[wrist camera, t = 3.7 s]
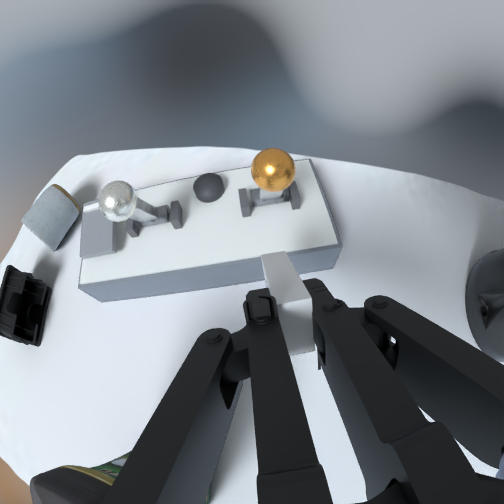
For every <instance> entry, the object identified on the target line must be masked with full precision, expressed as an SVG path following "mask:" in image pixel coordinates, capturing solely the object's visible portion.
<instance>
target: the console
mask: <svg viewBox="0 0 504 504" xmlns="http://www.w3.org/2000/svg"><path fill="white" fill-rule="evenodd" d="M294 163H295V167H296V174H295V178H294V180H293V182H292V183H291V185H290V186H289V187H287V188H288V193H289V202H285V203H278V204H271V205H265V206H258V207H252V203H251V197H250V190H249V189H255V188H258V185H257V184H256V183H255V182H254V180H253V178H252V175H251V167H245V168H238V169H233V170H227V171H221V172H216V173H207V174H203V175H200V176H195V177H190V178H185V179H180V180H176V181H171V182H167V183H163V184H158V185H154V186H150V187H146V188H142V189H138V190H135V191H136V194H137V197H138V198H140V199H142V200H143V201H145V202H147V203H149V204H151V205H152V206H154V207H158V206H163V205H168V206H169V208H170V222H168V223H163V224H158V225H153V226H148V227H143V228H139V229H138V228H136V226H135V224H134V219H131V218H128V219H126V220H124V221H120V222H117V253H113V254H108V255H103V256H98V257H93V258H88V259H83V258H82V262H81V269H80V276H79V285H78V288H79V289H80V290H82V291H83V292H85V293H87V294H88V295H90V296H92V297H93V298H95V299H97V300H98V301H100V302H109V301H118V300H126V299H135V298H143V297H151V296H159V295H166V294H174V293H181V292H189V291H196V290H203V289H210V288H217V287H223V286H230V285H237V284H243V283H249V282H256V281H262V280H265V277H264V271H263V265H262V259H261V255H263V254H268V253H274V252H280V251H285V252H286V254H287V255H288V257H289V259H290V261H291V262H292V264H293V266H294V268H295V269H296V271H297V273H298V274H304V273H310V272H315V271H321V270H327V269H332V268H333V267H334V265H335V263H336V260H337V258H338V256H339V254H340V251H341V249H342V245H341V242H340V238H339V235H338V232H337V229H336V226H335V223H334V220H333V217H332V214H331V212H330V209H329V206H328V203H327V200H326V198H325V195H324V192H323V189H322V187H321V184H320V181H319V179H318V176H317V174H316V171H315V168H314V166H313V163H312V161H311V159H304V160H295V161H294Z"/></svg>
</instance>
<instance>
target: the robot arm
mask: <svg viewBox="0 0 504 504" xmlns="http://www.w3.org/2000/svg"><path fill="white" fill-rule="evenodd" d="M261 259H262V265H263V271H264V277H265V283H266V288H263V289H258V290H252V291H249V292H248V294H247V295H246V300H245V301H244V303H243V308H244V313H245V318H246V323H247V325H246V326H245V327H244V328H243V329H241V330H240V331H238V332H235V333H232V334H230V332H229V331H228V330H226V329H223V328H215V329H214V328H213V329H210V330H207V331H205V332H204V333H202V334H201V335H200V336H199V337H198V339H197V341H196V342H195V344H194V346H193V347H192V349H191V351H190V352H189V354H188V356H187V358H186V359H185V361H184V363H183V364H182V366H181V368H180V369H179V371H178V373H177V375H176V376H175V378H174V380H173V381H172V383H171V385H170V386H169V388H168V390H167V392H166V393H165V395H164V397H163V398H162V400H161V402H160V403H159V405H158V407H157V409H156V410H155V412H154V414H153V415H152V417H151V419H150V421H149V422H148V424H147V426H146V427H145V429H144V431H143V432H142V434H141V436H140V438H139V439H138V441H137V443H136V444H135V446H134V448H133V450H132V451H131V453H130V455H129V456H128V458H127V460H126V462H125V463H124V465H123V467H122V468H121V470H120V472H119V474H118V475H117V477H116V479H115V480H114V482H113V484H112V486H111V487H110V489H109V491H108V493H107V494H106V496H105V498H104V499H103V501H102V502H101V503H100V504H204V501H205V498H206V495H207V493H208V490H209V487H210V484H211V481H212V478H213V475H214V472H215V469H216V466H217V463H218V460H219V457H220V454H221V451H222V448H223V445H224V442H225V439H226V436H227V433H228V430H229V427H230V424H231V421H232V417H233V414H234V411H235V408H236V405H237V402H238V398H239V395H240V392H241V389H242V385H243V380H244V379H247V378H249V377H251V388H252V401H253V413H254V425H255V436H256V448H257V459H258V475H257V495H258V504H333V502H332V498H331V494H330V491H329V487H328V483H327V480H326V476H325V473H324V470H323V467H322V465H321V464H320V463H319V461H318V458H317V455H316V451H315V447H314V443H313V440H312V436H311V432H310V429H309V425H308V421H307V418H306V414H305V410H304V407H303V403H302V399H301V396H300V392H299V388H298V385H297V381H296V377H295V374H294V370H293V367H292V363H291V359H290V356H293V355H298V354H302V353H307V352H312V351H315V344H316V346H317V352H318V370H320V369H321V367H322V369H323V372H324V374H325V377H326V379H327V382H328V384H329V387H330V389H331V392H332V394H333V397H334V399H335V402H336V405H337V407H338V410H339V412H340V415H341V418H342V420H343V423H344V425H345V428H346V431H347V433H348V436H349V439H350V441H351V444H352V447H353V449H354V452H355V455H356V457H357V460H358V463H359V465H360V468H361V471H362V474H363V476H364V479H365V484H366V496H367V500H368V501H366V502H363V503H355V504H504V365H503V364H501V363H499V362H504V248H503V249H500V250H496V251H492V252H490V253H488V254H487V255H485V256H484V257H483V258H482V259H481V260H479V261H478V262H477V263H476V264H475V265H474V267H473V268H472V270H471V272H470V275H469V278H468V282H467V287H466V311H467V317H468V322H469V325H470V329H471V332H472V334H473V337H474V339H475V341H476V343H477V345H478V346H479V348H480V349H481V350H482V351H480V350H478V349H477V348H475V347H474V346H472V345H470V344H469V343H467V342H465V341H464V340H462V339H460V338H459V337H457V336H455V335H454V334H452V333H450V332H449V331H447V330H445V329H444V328H442V327H440V326H438V325H437V324H435V323H433V322H432V321H430V320H428V319H426V318H425V317H423V316H421V315H420V314H418V313H416V312H414V311H413V310H411V309H409V308H407V307H406V306H404V305H402V304H400V303H399V302H397V301H395V300H393V299H392V298H389V297H387V296H382V295H378V296H373V297H370V298H368V299H366V301H365V302H364V307H361V308H349V307H348V306H347V305H346V304H345V302H343V301H342V300H339V299H334V297H333V296H332V294H331V293H330V292H329V290H328V289H327V287H326V286H325V285H324V283H323V282H322V281H321V280H319V279H316V278H313V279H308V280H303V281H302V280H301V278H300V276H299V275H298V273H297V271H296V269H295V268H294V266H293V264H292V262H291V261H290V259H289V257H288V255H287V254H286V252H285V251H280V252H274V253H268V254H263V255H261ZM391 336H392V337H393V338H394V339H395V340H396V343H395V344H394V343H393V342H391ZM417 405H418V406H419V407H420V408H421V409H422V410H423V411H424V412H425V413H426V414H428V415H429V416H430V417H431V418H432V419H433V420H434V421H435V422H429V421H428V420H427V419H426V418H425V416H424V415H423V413H422V412H421V410H420V409H419V407H418V406H417ZM454 438H455V439H456V440H457V441H458V442H459V443H460V444H461V445H463V446H464V447H465V448H466V449H467V450H468V451H469V452H470V453H472V454H473V455H474V456H475V457H477V458H478V459H479V460H481V461H482V462H484V463H486V464H488V465H489V466H492V467H494V468H497V469H499V471H498V472H497V474H496V478H494V477H490V476H486V475H482V474H479V473H475V471H474V469H473V468H472V466H471V464H470V463H469V461H468V460H467V458H466V456H465V455H464V453H463V452H462V450H461V448H460V447H459V445H458V444H457V442H456V441H455V439H454Z"/></svg>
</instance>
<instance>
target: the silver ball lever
mask: <svg viewBox="0 0 504 504" xmlns="http://www.w3.org/2000/svg"><path fill="white" fill-rule="evenodd" d="M98 204H99V209H100V211H101V213H102V214H103V216H104V217H105V218H107V219H108V220H110V221H114V222H120V221H124V220H126V219H128V218H131V219H134V224H135V226H136V228H138V229H139V228H143V227H148V226H153V225H158V224H163V223H168V222H170V208H169V206H168V205H163V206H158V207H154V206H152V205H151V204H149V203H147V202H145V201H143V200H142V199H140V198H138V197H137V194H136V191H135V189H134V188H133V187H132V186H131V185H130V184H129V183H127V182H125V181H113V182H111V183H109V184H107V185H106V186H105V187H104V188H103V189H102V191H101V193H100V195H99V201H98Z"/></svg>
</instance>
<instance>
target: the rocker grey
mask: <svg viewBox="0 0 504 504" xmlns="http://www.w3.org/2000/svg"><path fill="white" fill-rule="evenodd" d="M98 201H99V199H96V200H93V201H90V202H87V203H84V204H83V214H82V226H81V241H80V257H81V258H83V259H88V258H93V257H98V256H103V255H108V254H113V253H117V222H114V221H110V220H108V219H107V218H105V217H104V216H103V214H102V213H101V211H100V209H99V204H98Z"/></svg>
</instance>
